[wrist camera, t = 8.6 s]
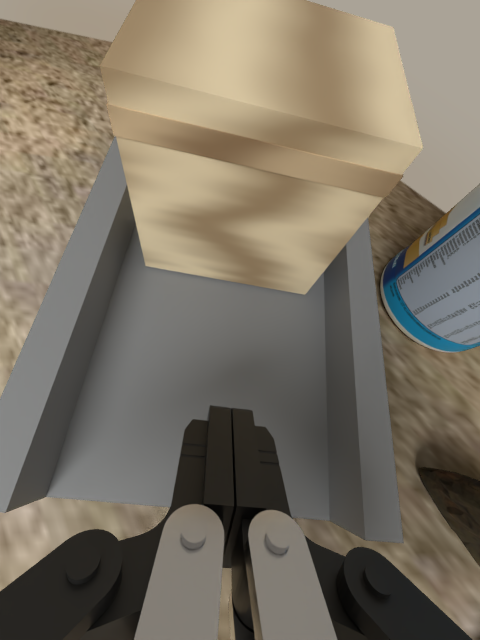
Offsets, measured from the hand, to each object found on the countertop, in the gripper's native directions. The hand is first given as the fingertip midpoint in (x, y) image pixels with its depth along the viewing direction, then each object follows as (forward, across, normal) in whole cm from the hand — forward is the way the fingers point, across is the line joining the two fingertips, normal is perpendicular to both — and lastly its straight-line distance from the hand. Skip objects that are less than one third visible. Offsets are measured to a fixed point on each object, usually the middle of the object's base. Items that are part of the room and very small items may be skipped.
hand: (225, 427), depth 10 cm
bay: (+9, 0, -2) cm, 10 cm away
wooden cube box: (+12, 0, -6) cm, 13 cm away
